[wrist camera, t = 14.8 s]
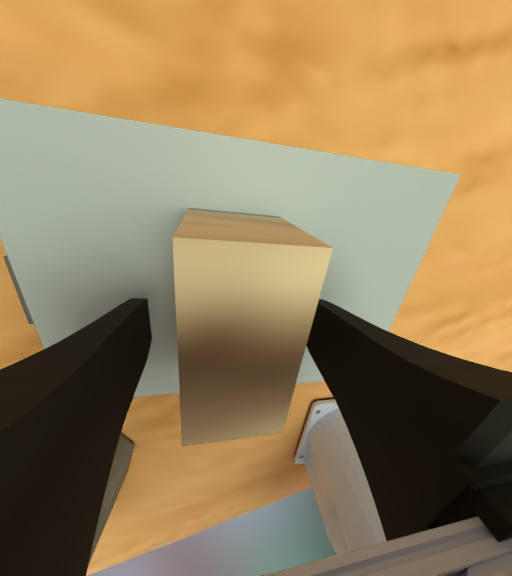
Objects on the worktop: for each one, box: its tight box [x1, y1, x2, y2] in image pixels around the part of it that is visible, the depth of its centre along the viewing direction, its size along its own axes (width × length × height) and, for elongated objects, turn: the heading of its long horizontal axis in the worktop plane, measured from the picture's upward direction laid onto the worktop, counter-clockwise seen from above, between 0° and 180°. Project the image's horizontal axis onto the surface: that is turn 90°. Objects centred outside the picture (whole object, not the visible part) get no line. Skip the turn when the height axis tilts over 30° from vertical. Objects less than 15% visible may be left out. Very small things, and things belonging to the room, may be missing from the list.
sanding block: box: [172, 208, 333, 446], centre depth 9 cm, size 8×4×5 cm, turn 173°
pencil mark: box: [4, 256, 34, 324], centre depth 11 cm, size 4×1×1 cm
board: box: [0, 99, 460, 397], centre depth 12 cm, size 14×20×2 cm
